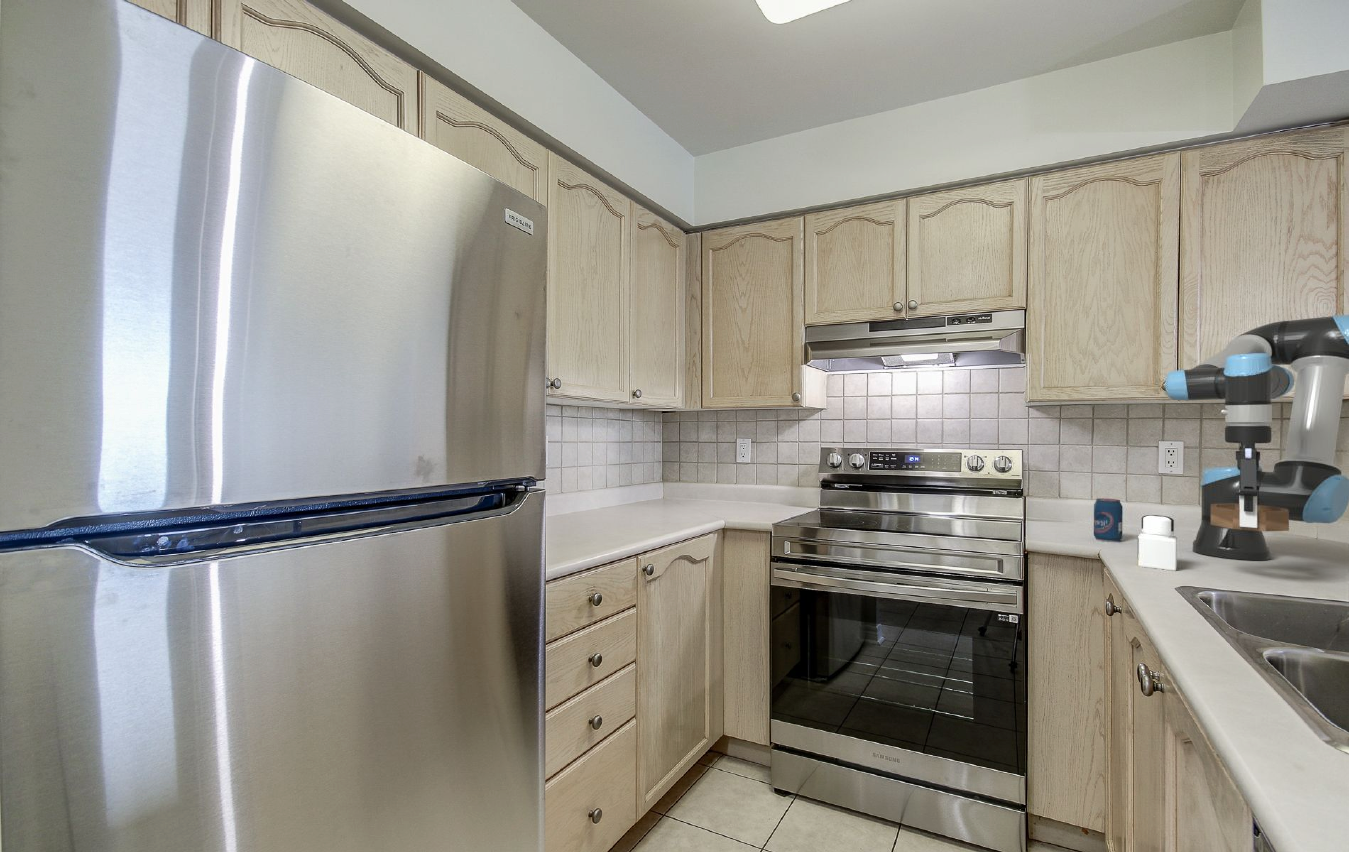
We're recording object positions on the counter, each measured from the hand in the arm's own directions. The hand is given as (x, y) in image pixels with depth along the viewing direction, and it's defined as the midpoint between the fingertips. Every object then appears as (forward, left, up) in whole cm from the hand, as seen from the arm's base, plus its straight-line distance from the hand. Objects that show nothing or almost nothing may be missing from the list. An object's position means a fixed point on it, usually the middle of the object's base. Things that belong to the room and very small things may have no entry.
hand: (1247, 523), depth 137 cm
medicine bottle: (+10, -12, -12) cm, 20 cm away
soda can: (-5, -47, -12) cm, 49 cm away
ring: (0, 0, -1) cm, 1 cm away
